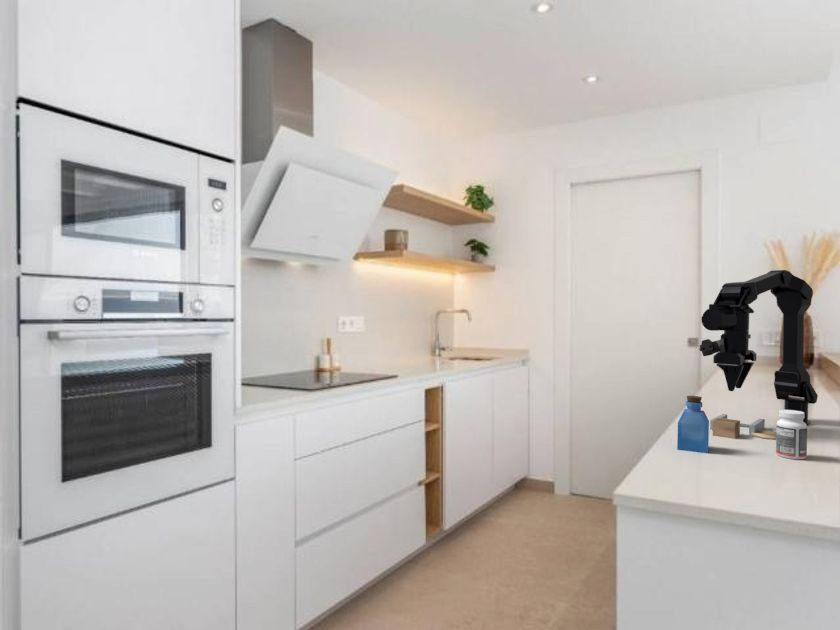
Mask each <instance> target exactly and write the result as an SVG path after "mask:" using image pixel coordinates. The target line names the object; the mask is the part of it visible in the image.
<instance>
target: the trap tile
mask: <svg viewBox="0 0 840 630" xmlns="http://www.w3.org/2000/svg"><path fill="white" fill-rule="evenodd" d="M749 425H750V424H747V423H741V422H740V428H741V427H742V428H747V429H749Z"/></svg>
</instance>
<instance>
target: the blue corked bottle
mask: <svg viewBox="0 0 840 630" xmlns="http://www.w3.org/2000/svg"><path fill="white" fill-rule="evenodd" d="M685 406H686V408H684V410H683V412H682V413H681V415H680V417H679V419H678V422H677V441H676V442H677V443H676V444H677V448H676V450H677V451H683V452H684V451H686V452H693V453H694V452H695V453H700V454H708V453H709V441H710V439H709V436H710V421H709V419H708V416H707V414H706V413H705V411H704V410H702V408H703V402H702V396H700V395H687V396H686V401H685Z"/></svg>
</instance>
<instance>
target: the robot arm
mask: <svg viewBox="0 0 840 630" xmlns="http://www.w3.org/2000/svg"><path fill="white" fill-rule="evenodd" d="M765 292H770V293H771V294H772V295H773V296H774V297H775V298H776V305H777V307H778V309H779V310H780V311H781V313H782V315H783V317H782V319H783V320H782V321H783V323H782V325H783V326H782V365H781V367H780V368H779V369H778V370H775V372H774V381H773V386H774V391H775V396H776V399H777V400H782V401H784V404H783V405H784V407H783V408H784V409H783V410H795V411H801V412H804V415H805V418H804V419H803V422H804V423H806V425H807V426H808V425H810V424H811V422H812V421H811V420H809V404H813V405H815V404H816V403H817V402H818V396H819V395H818V393H817V392H816V390H815V388H814V386H813V385H812V383H811V374H810V373H809V372H808V371H807V369H806V367H805V366H804V347H805V346H804V345H805V344H804V343H805V342H804V341H805V339H804V338H805V337H804V335H805V330H804V328H805V314H806V312H807V311H808V309H810V307H811V306H812V298H813V295H814V291H813V288H812V287H811V286H810V284H808V282H807V281H805V279H802V278H800V277H798V276H795V275H794V274H793V273H792V272H791V271H790V270H786V269H782V270H781V269H780V270H776V269H775V270H770V271H768V272H767V273H764V274H761V275H759V276H757V277H753V278H751V279H748V280H745V281H737V282H725V283H724V284H722V286H721V289H720V290H719V293H718V294H717V296H716V298H715V300H714V302H713V303H710V304H708V309H706V310H705V311H704V312H703V314H702V316H701V323H702V326H703V327H704V329H705V330H707V331H712V332H713V331H714V332H715V331H718V332H719V331H723V332H724V333H722V334H721V335H720V339H718V340H714V341H712V340H711V339H709V338H706V339H704V340H701V343H700V345H699V351H700V352H701V354H702V356H703V357H708V356H711V355H713V364H716V366H717V367H718V368H719V369H721V370H722V372H723V375H724V377H725V382H726V386H727V390H728V391H730V392H734V391H735V389H742V387H743V385H744V382H745V381H746V379H747V377H748V375H749V374H750V371H751V369H752V367H753V366H754V364H755V362H756V361H757V353H756V352H755V351H754V350H752V349H749V340H750V339H751V338H752V337H751V333H750V330H749V329H750V314H754V313H755V310H754V309H753V308H752V307H751V306H750V305H751V304H752V303H753V302H755V301H757V300H758V297H759V295H761V294H763V293H765Z"/></svg>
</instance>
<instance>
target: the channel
mask: <svg viewBox="0 0 840 630" xmlns="http://www.w3.org/2000/svg"><path fill="white" fill-rule="evenodd" d="M717 418H724V419H728V414H727V413H726V414H725V413H721V414H720V415H717V416H716V417H714V418H711V419H710V421H709V430H713V420H715V419H717ZM765 420H766V419H765V418H758V419H756V420H755V421H753V422H751V423H750V424H748V425H749V428H748V435H749V436H752V435H751V433H755V432H757V431H758V430H765V424H766V423H765V422H766V421H765Z"/></svg>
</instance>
